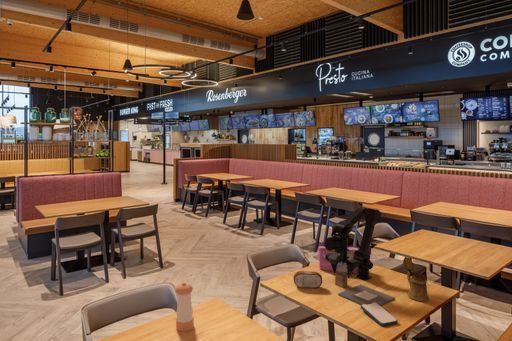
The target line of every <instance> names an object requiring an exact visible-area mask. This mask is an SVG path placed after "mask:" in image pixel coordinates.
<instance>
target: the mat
mask: <svg viewBox="0 0 512 341" xmlns="http://www.w3.org/2000/svg"><path fill="white" fill-rule="evenodd" d="M337 295H338V297H339V296H340V297H341V298H344V299H346V300H347V301H348V300H349V301H351V302H353V303H355V304H358V305H360V306H361V305H362V304H367V303H372V302H376V303H378V304H379V305H380V306H381V307H383V306H384V305H386V304H388V303H390V302H391V301H394V300H395V298H396V297H395V296H392V295H389V294H387V293H384V292H381V291H379V290H376V289H374V288H370V287H368V286H366V285H362V284H358V285H355V286H353V287H351V288H348V289H346V290H344V291H341V292H338V293H337Z"/></svg>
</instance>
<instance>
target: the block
mask: <svg viewBox="0 0 512 341" xmlns="http://www.w3.org/2000/svg"><path fill="white" fill-rule="evenodd" d="M334 274H335V275H334V276H335V278H334V280H335V281H334V284H335V286H337V287H339V288H345V287H347V286H348V277H347V273H346V272H340V271H339V272H336V273H334Z"/></svg>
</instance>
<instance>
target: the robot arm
mask: <svg viewBox="0 0 512 341" xmlns="http://www.w3.org/2000/svg"><path fill="white" fill-rule="evenodd" d="M381 216H382V212H381V211H380V209H376V208H374V207H373V208H371V207H368V206H367V207H366V206H359V207H358V209H356V210H355V211H354V212H353V213H352V214H350V216H348V217H347V218H346V219H344V220H340V221H338V222H337V223H336V224H335V225H334V228H333V229H332V231H331V233H330V236H327V239H326V240H325V241H324V243H323V244H324V245H325V248H326V249H327V250H328V251H331V250H334V253H332V252H331V253H328V254H326V255H325V259H326V260H327V261H328V262H329V263H330V264H331V266H332V269H333V271H332V272H333V273H334V274H337V271H336V269H337V264H338V262H339V263H341V262H344V263H346V265H347V267H346V268H347V272H346V274H347V277H348V278H347V280H348V279H350V278H351V276H352V274H353V273H352V272H353V270H354V269H355V268H356V267H358V273H357V274H356V275H355V278H357V279H360V280H363V281H367V280H368V279H372V278H373V277H372V276H371V275H370V270H372V269H373V267H374V263H373V262H372V261H371V253H370V247H371V246H370V245H371V243H372V238H373V235H374V234H373V233H374V230H375V226H376V225H377V224H378V223H379V222H380V219H381ZM362 218H363V219H364V221H365V224H364V229H363V233H362V236H361V241H360V246H359V249H358V250H355V253H354V256H353V257H354V259H352V260H347V259H349V256H347V252H348V251H349V249H348V246H349V245H348V244H349V242H348V241H349V240H348V239H351V236H350V235H349V234H350V233H351V232H352V231H353V228H354V226H355V225H357V223H358V222H360V221H361V220H362Z"/></svg>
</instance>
